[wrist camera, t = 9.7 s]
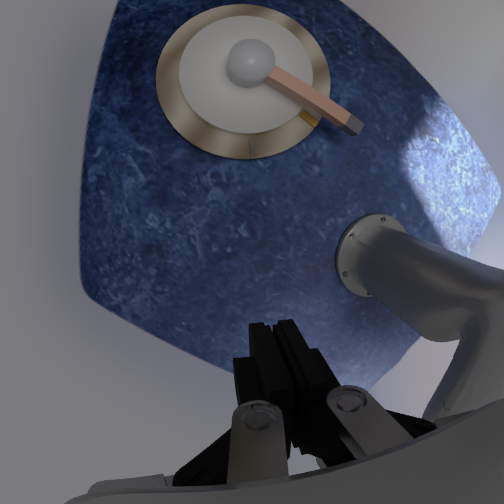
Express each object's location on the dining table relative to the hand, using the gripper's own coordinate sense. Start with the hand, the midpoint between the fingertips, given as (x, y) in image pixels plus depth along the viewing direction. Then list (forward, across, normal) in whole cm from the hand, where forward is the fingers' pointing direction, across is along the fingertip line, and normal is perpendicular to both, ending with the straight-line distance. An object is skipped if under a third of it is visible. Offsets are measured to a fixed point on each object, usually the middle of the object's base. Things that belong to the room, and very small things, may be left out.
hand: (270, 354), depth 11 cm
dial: (+27, -6, -17) cm, 33 cm away
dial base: (+29, -3, -19) cm, 35 cm away
